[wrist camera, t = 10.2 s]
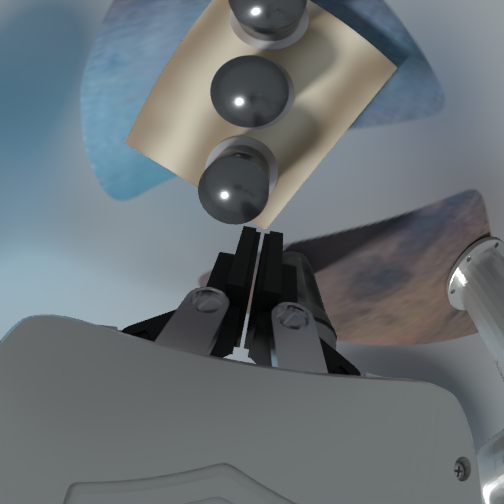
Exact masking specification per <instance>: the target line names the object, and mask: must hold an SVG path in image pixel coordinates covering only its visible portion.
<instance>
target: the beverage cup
mask: <svg viewBox="0 0 504 504" xmlns="http://www.w3.org/2000/svg"><path fill="white" fill-rule="evenodd" d="M282 264H288V265H293V266H296V269H297V295H298V304H300V305H302V306H304V307H305V308H307V309H308V310H309V311H310V312H311V314H312V316H313V318H314V321H315V325H316V328H317V332H318V336H319V337H320V338H322V339H323V340H324V341H325V342H326V343H327V344H329V345H330V346H331V347H332V348H333V349H335V350H336V340H337V335H336V333H335V330H334V328H333V327H332V325H331V323H330V320H329V318H328V316H327V314H326V312H325V309H324V305H323V302H322V299H321V296H320V292H319V289H318V286H317V283H316V279H315V276H314V273H313V270H312V268H311V266H310V263H309V261H308V258H307V257H306V256H305V255H304V254H302V253H300V252H297V251H285V252H283V256H282Z"/></svg>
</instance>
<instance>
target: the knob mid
mask: <svg viewBox="0 0 504 504" xmlns="http://www.w3.org/2000/svg"><path fill="white" fill-rule="evenodd" d="M210 96H211V101H212V104H213V106H214V108H215V110H216V111H217V113H218V114H219V115H220V116H221V117H222V118H223V119H224V120H226V121H227V122H229V123H231V124H233V125H236V126H239V127H245V128H254V127H260V126H263V125H266V124H268V123H270V122H272V121H273V120H275V119H276V118H277V117H278V116H279V115H280V114H281V113H282V111H283V110H284V108H285V106H286V104H287V101H288V97H289V85H288V81H287V79H286V76H285V74H284V73H283V71H282V70H281V69H280V68H279V67H278V66H277V65H276V64H275V63H273V62H272V61H270V60H268V59H266V58H264V57H260V56H255V55H245V56H239V57H236V58H233V59H231V60H229V61H227V62H226V63H225V64H223V65H222V66H221V67H220V68H219V69H218V71H217V72H216V74H215V75H214V77H213V80H212V83H211V88H210Z"/></svg>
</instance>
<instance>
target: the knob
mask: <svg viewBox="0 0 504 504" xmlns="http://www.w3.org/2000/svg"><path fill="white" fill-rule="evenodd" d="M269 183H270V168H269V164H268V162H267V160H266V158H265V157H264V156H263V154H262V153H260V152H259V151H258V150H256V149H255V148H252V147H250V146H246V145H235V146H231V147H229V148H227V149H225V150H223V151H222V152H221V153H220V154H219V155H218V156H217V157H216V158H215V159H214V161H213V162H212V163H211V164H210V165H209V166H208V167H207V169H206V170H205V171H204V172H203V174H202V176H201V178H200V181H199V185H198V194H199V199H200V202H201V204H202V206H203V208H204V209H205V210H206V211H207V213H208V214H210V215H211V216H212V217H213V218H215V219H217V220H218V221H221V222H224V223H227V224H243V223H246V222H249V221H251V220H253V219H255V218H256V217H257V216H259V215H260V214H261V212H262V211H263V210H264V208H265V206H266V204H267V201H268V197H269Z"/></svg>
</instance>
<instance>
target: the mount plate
mask: <svg viewBox="0 0 504 504" xmlns="http://www.w3.org/2000/svg"><path fill="white" fill-rule="evenodd" d="M245 55H255V56H260V57H264V58H266V59H268V60H270V61H272V62H273V63H275V64H276V65H277V66H278V67H279V68H280V69H281V70H282V71H283V73H284V74H285V76H286V79H287V81H288V85H289V97H288V101H287V104H286V106H285V108H284V110H283V111H282V113H281V114H280V115H279V116H278V117H277V118H276V119H275V120H273V121H272V122H270V123H268V124H266V125H263V126H260V127H254V128H245V127H239V126H236V125H233V124H231V123H229V122H227V121H226V120H224V119H223V118H222V117H221V116H220V115H219V114H218V113H217V111H216V110H215V108H214V106H213V104H212V101H211V96H210V88H211V83H212V80H213V77H214V75H215V74H216V72H217V71H218V69H219V68H220V67H221V66H222V65H223V64H225V63H226V62H227V61H229V60H231V59H233V58H236V57H239V56H245ZM396 69H397V67H396V66H395V65H394V64H393V63H392V62H391V61H390V60H389V59H388V58H387V57H386V56H384V55H383V54H382V53H381V52H380V51H379V50H378V49H376V48H375V47H374V46H373V45H372V44H370V43H369V42H368V41H367V40H366V39H364V38H363V37H362V36H361V35H359V34H358V33H357V32H355V31H354V30H353V29H351V28H350V27H349V26H347V25H346V24H345V23H343V22H342V21H340V20H339V19H338V18H336V17H335V16H333V15H332V14H330V13H329V12H327V11H326V10H324V9H323V8H321V7H320V6H318V5H316V4H315V3H313V2H311V1H310V0H307V4H306V7H305V10H304V13H303V16H302V18H301V21H300V24H299V26H298V28H297V29H296V31H295V32H294V33H293V34H292V35H290V36H289V37H287V38H285V39H282V40H278V41H262V40H258V39H255V38H253V37H251V36H249V35H248V34H247V33H245V32H244V30H243V29H242V28H241V26H240V24H239V23H238V21H237V19H236V17H235V15H234V13H233V11H232V9H231V8H230V5H229V1H228V0H212V2H211V3H210V4H209V5H208V7H207V8H206V9H205V10H204V12H203V13H202V14H201V15H200V17H199V18H198V19H197V21H196V22H195V23H194V25H193V26H192V27H191V29H190V30H189V32H188V33H187V34H186V36H185V37H184V39H183V40H182V42H181V43H180V44H179V46H178V47H177V49H176V50H175V52H174V53H173V55H172V57H171V58H170V60H169V61H168V63H167V64H166V66H165V68H164V69H163V71H162V73H161V74H160V76H159V78H158V79H157V81H156V83H155V85H154V86H153V88H152V90H151V92H150V93H149V95H148V97H147V99H146V101H145V103H144V105H143V107H142V108H141V110H140V112H139V114H138V116H137V118H136V120H135V122H134V124H133V126H132V129H131V131H130V133H129V135H128V137H127V139H126V141H125V144H127V145H129V146H130V147H132V148H134V149H135V150H137V151H139V152H140V153H142V154H144V155H145V156H147V157H149V158H150V159H152V160H154V161H155V162H157V163H159V164H160V165H162V166H164V167H165V168H167V169H169V170H170V171H172V172H174V173H175V174H177V175H179V176H180V177H182V178H184V179H185V180H187V181H188V182H190V183H192V184H193V185H195V186H196V187H198V185H199V181H200V178H201V176H202V174H203V172H204V171H205V170H206V169H207V167H208V166H209V165H210V164H211V163H212V162H213V161H214V159H215V158H216V157H217V156H218V155H219V154H220V153H221V152H222V151H223V150H225V149H227V148H229V147H231V146H235V145H246V146H250V147H252V148H255V149H256V150H258V151H259V152H260V153H262V154H263V156H264V157H265V158H266V160H267V162H268V164H269V168H270V183H269V197H268V201H267V204H266V206H265V208H264V210H263V211H262V212H261V214H260V215H259V216H257V217H256V218H255V219H253V220H251V221H252V222H253V223H255V224H257V225H258V226H260V227H261V228H263V229H264V230H266V228H267V227H268V226H269V225H270V223H271V222H272V221H273V220H274V219H275V217H276V216H277V215H278V214H279V212H280V211H281V210H282V209H283V208H284V206H285V205H286V204H287V203H288V201H289V200H290V199H291V198H292V196H293V195H294V194H295V193H296V191H297V190H298V189H299V188H300V186H301V185H302V184H303V183H304V182H305V180H306V179H307V178H308V177H309V176H310V174H311V173H312V172H313V171H314V169H315V168H316V167H317V166H318V164H319V163H320V162H321V161H322V159H323V158H324V157H325V156H326V155H327V154H328V152H329V151H330V150H331V149H332V147H333V146H334V145H335V144H336V142H337V141H338V140H339V139H340V138H341V136H342V135H343V134H344V133H345V131H346V130H347V129H348V128H349V127H350V125H351V124H352V123H353V122H354V121H355V119H356V118H357V117H358V116H359V114H360V113H361V112H362V111H363V110H364V108H365V107H366V106H367V105H368V103H369V102H370V101H371V100H372V99H373V97H374V96H375V95H376V94H377V92H378V91H379V90H380V89H381V88H382V86H383V85H384V84H385V83H386V82H387V80H388V79H389V78H390V77H391V75H392V74H393V73H394V72H395V71H396Z"/></svg>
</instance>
